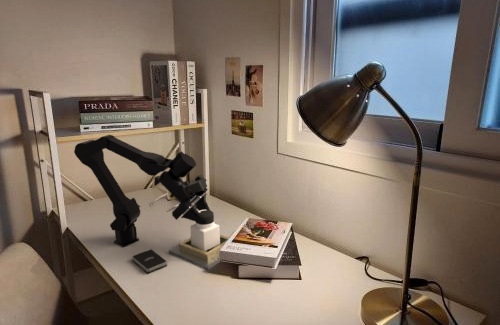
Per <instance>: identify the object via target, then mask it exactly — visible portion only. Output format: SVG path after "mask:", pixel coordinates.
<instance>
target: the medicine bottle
mask: <svg viewBox="0 0 500 325" xmlns="http://www.w3.org/2000/svg"><path fill="white" fill-rule="evenodd" d="M210 210H211V209H210ZM210 210H200V211H199V210H197V211H198V212H199V213H200V215H201V216H202V217H203V218H204V220H205V221H206V224H204V225H203V224H200V223H198V222H195V223H194V224H192V225H190V228H189V229H190V238H191V244H192V245H193V246H195V247H197V248H199V249H201V250H203V251H207V250H209V249H211V248H213V247H215V246H217V245H219V244H220V235H221V233H220V232H221V229H220V228H221V227H220V225H219V224H217V223H215V219H214V218H215V217H214V216H215V214H214V212H213V211H212V210H211V211H210Z"/></svg>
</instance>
